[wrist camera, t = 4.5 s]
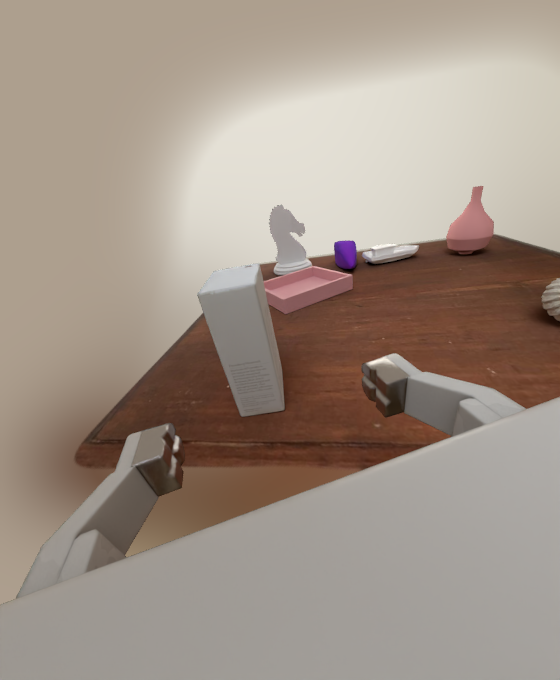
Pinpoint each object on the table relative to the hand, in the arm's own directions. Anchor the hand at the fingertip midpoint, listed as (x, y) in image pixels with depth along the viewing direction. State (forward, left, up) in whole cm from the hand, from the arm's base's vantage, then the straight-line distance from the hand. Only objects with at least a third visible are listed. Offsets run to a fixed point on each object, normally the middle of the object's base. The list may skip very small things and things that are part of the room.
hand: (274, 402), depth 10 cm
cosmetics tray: (+21, +32, -9) cm, 39 cm away
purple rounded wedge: (+38, +39, -9) cm, 55 cm away
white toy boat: (+46, +33, -9) cm, 57 cm away
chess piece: (+29, +49, -9) cm, 58 cm away
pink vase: (+56, +23, -9) cm, 61 cm away
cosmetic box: (+3, +11, -9) cm, 15 cm away
